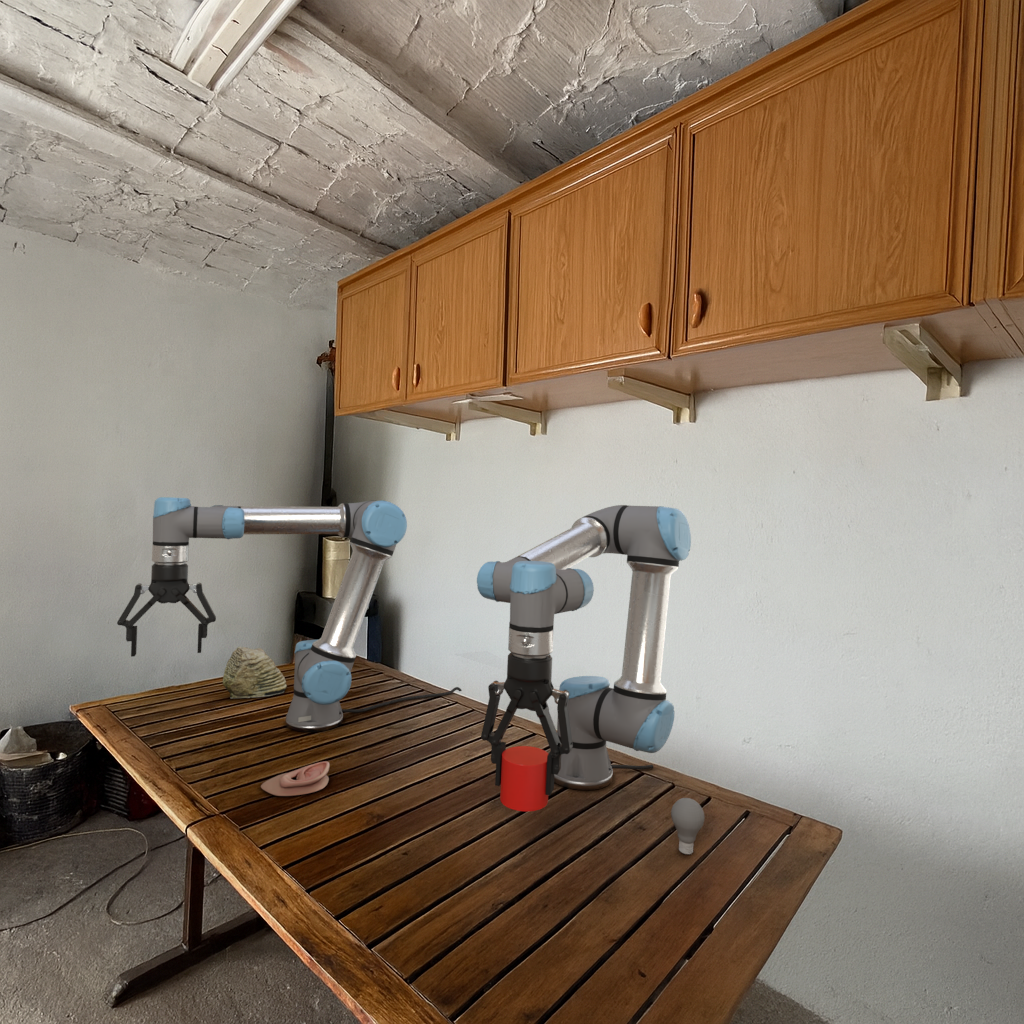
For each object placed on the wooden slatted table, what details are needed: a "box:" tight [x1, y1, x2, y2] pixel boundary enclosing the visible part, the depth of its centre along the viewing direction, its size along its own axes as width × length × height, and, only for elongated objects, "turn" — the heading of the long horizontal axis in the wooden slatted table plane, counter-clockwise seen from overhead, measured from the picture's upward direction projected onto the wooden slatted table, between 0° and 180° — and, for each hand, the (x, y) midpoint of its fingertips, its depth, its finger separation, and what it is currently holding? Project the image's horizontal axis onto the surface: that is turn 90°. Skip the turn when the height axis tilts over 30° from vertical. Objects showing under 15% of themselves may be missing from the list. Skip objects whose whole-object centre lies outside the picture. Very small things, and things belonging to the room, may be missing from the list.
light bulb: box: [670, 797, 706, 855], centre depth 118 cm, size 6×6×10 cm
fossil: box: [222, 646, 288, 699], centre depth 198 cm, size 9×18×15 cm, turn 132°
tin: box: [499, 745, 549, 813], centre depth 107 cm, size 8×8×8 cm
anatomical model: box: [260, 760, 331, 797], centre depth 138 cm, size 13×4×12 cm
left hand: (167, 653), depth 149 cm, fingers open, 13 cm apart
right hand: (524, 786), depth 107 cm, fingers closed on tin, 8 cm apart
